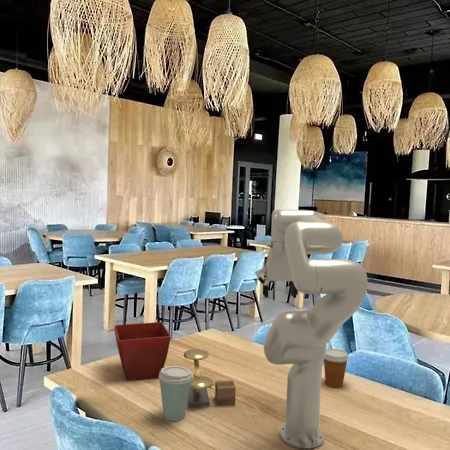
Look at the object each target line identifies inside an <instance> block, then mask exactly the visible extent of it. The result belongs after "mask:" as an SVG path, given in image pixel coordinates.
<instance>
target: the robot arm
mask: <svg viewBox="0 0 450 450" xmlns="http://www.w3.org/2000/svg"><path fill="white" fill-rule="evenodd" d="M270 233H271V234H270V241H269V242H266V247H269V248H270V249H268V251H267V252H268V253H267V257H266V263H265V266H264V267H262V268H261V269H258V270H256V271H255V276H256V278H257V279H258V281H259V282H260V283H261V284H262V295H263V296H264V297H265V299H268V298H269V286H268V284H269V283H270V282H292V283H293V284H292V286H291V297H293V298H294V299H297V296H298V295H299V293H301V294H305V295H324V296H322V297H320V298H319V299H317V301H316V302H314V304H313V306H312V307H311V308H310V309H307V310H295V311H294V310H293V311H291V310H290V311H284V312H283V311H282V312H281V313H279V314H277V315H276V316H275V317H274V319H273V321H272V323H271V326H270V327H269V329H268V331H267V333H266V335H265V338H264V340H263V341H264V342H263V353H264V356H265V359H266V360H267V361H268V362H269V363H270V364H272V365H278V366H279V365H292V366H291V367H290V369H289V371H288V373H287V377H286V378H287V381H286V400H285V404H286V405H285V424H284V425H282V426H281V427H280V429H279V437H280V438H281V440H282V441H283V442H284V443H285V444H288V445H289V446H291V447H294V448H298V449H308V450H309V449H314V448H317V447H319V446H321V445H323V443H324V439H325V436H324V432H323V431H322V430H321V429H320V428H319V427H320V410H321V408H320V406H321V390H322V389H321V388H322V374H323V373H322V371H323V366H324V357H325V352H326V349H327V344H328V343H329V342H330V341H331V340H332V339H333V338H334V336H335V335H336V334H337V333H338V331H339V330H340V329H341V328H342V326H343V325H344V324H345V323H346V322H347V321H348V320H349V319H350V318H351V317H352V316H353V315H354V314H355V313H356V312H357V311H358V310H359V308H360V307H361V306H362V304H363V302H364V300H365V297H366V294H367V290H368V289H367V288H368V275H367V272H366V269H365V267H364V266H362V265H361V264H360V263H358V262H357V261H354V260H351V259H345V258H309V257H308V255H330V254H333V253H335V252H336V251H338V250H339V249H340V248H341V246H342V244H343V240H344V239H343V238H344V237H343V233H342V231H341V229H340V228H339V227H338V226H337V225H335V224H333V223H332V222H329V221H326V219H325V216H324V214H323V213H321V212H318V211H315V210H308V209H274V210H273V211H272V213H271V232H270ZM264 273H265V274H264ZM262 274H264V275H265V278H264V279H263V278H262Z"/></svg>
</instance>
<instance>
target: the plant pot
mask: <svg viewBox="0 0 450 450" xmlns="http://www.w3.org/2000/svg"><path fill="white" fill-rule="evenodd" d="M114 334H115V341H116V346H117V350H118V354H119V355H118V356H119V359H120V363H121V367H122V368H121V369H122V370H123V372H122V373H123V375H124V378H125V379H124V380H126V381H128V380H129V381H137V380H145V379H155V378H159V373H160V371H161V369H162V368H164V367H165V364H166V361H167V357H168V352H169V348H170V345H171V344H170V343H171V334H170V333H169V331H168V329H167V328H166V326H165V325H164V323H163V322H161V321H160V322H159V321H158V322H157V321H155V322H154V321H153V322H140V323H129V324H115V325H114Z"/></svg>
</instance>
